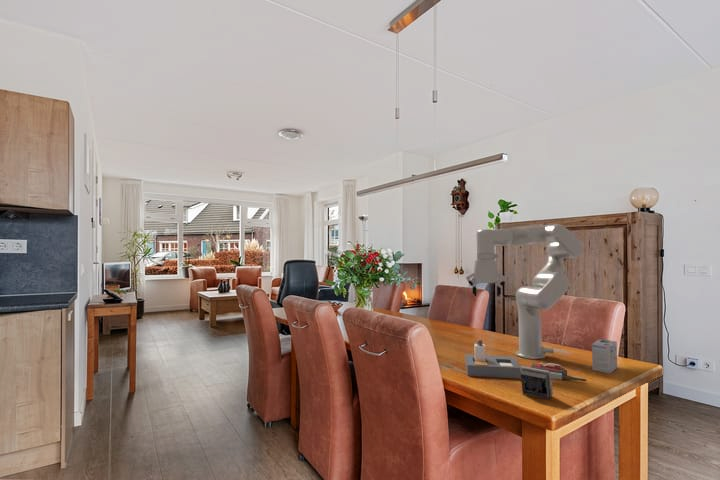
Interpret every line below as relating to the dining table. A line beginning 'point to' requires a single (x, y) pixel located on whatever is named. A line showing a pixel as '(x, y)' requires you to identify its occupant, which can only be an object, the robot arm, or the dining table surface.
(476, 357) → the white bottle
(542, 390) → the electrical switch
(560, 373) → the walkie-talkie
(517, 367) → the socket block
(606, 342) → the light bulb box
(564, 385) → the dining table surface
